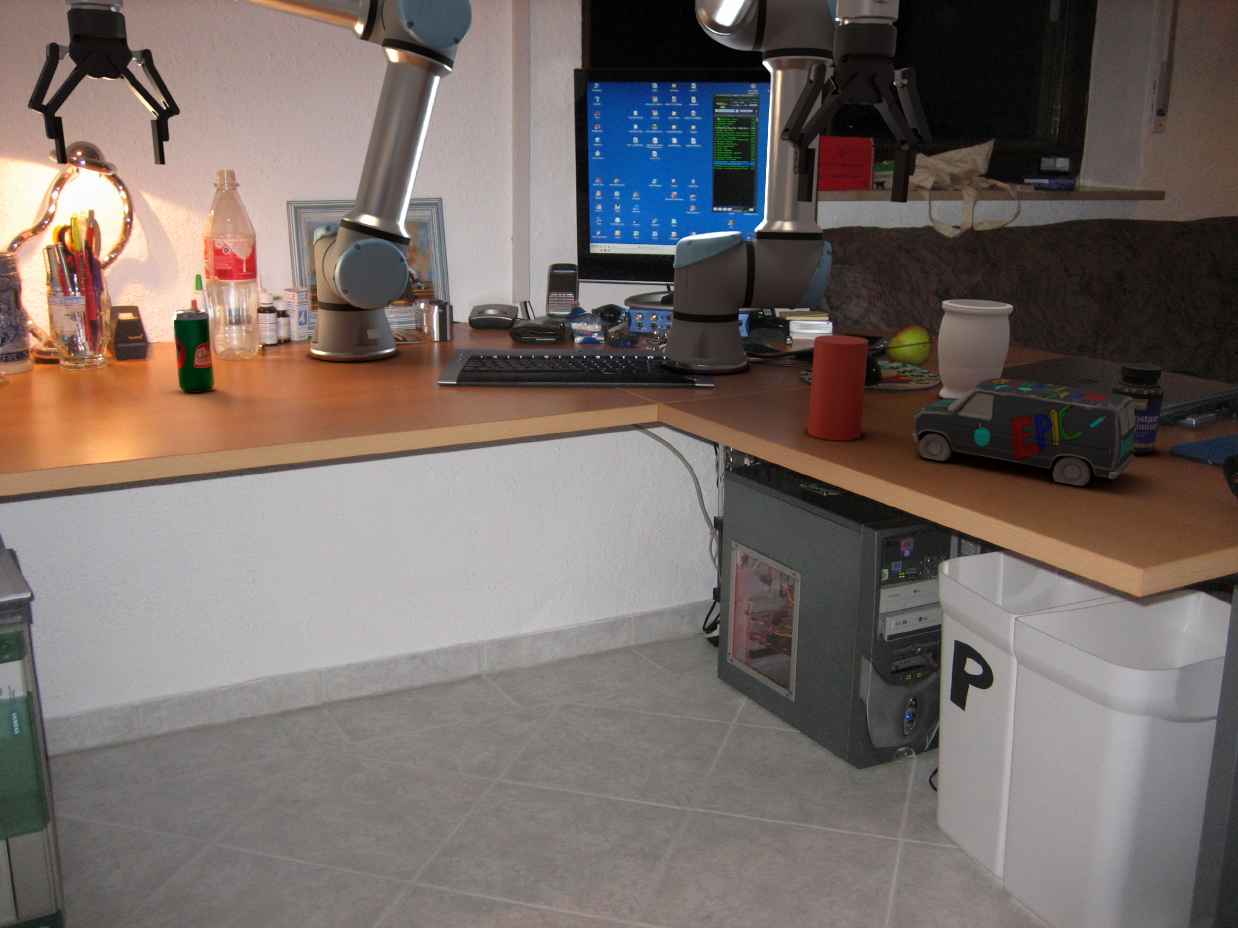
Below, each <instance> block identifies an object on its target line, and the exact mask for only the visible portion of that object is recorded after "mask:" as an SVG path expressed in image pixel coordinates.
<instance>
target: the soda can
mask: <svg viewBox="0 0 1238 928" xmlns="http://www.w3.org/2000/svg"><path fill="white" fill-rule="evenodd" d="M172 328H173V337H174V348H175V356H176V357H175V358H176V367H177V368H176V369H177V376H178V377H177V379H178V387H179V388H180V389H181V391H183V392H187V393H202V392H208V391H211V390H212V389H213V388H214V386H215V376H214V375H215V374H214V365H213V353H212V341H211V331H210V318H209V316H208V315H207V313H206V310H204V309H199V308H198V309H196V308H189V309H179V310H175V311H174V316H173V317H172Z"/></svg>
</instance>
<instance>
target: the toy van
mask: <svg viewBox="0 0 1238 928" xmlns="http://www.w3.org/2000/svg"><path fill="white" fill-rule="evenodd" d="M1135 431H1136V423H1135V415H1134V405H1133V398H1131V397H1130V396H1125V395H1118V394H1112V392H1104V391H1098V390H1093V389H1085V388H1079V387H1073V386H1072V387H1071V386H1065V385H1059V384H1052V383H1043V382H1037V381H1028V380H1020V379H1008V378H1002V377H1000V378H994V379H988V380H984V381H982V382H980V383H979V384H977V385H976V386H975V387H974V388H972V389H971V390H970V391H968V392H967V393H966V394H965V395H963V396H962V397H960V398H941V399H938V400H936V401H933V402H930V403H928V404H926V405H924V406H922V407H921V408H919V409H918V410H916V411H914V417H913V432H912V434H911V436H912V439H913V442H914V443H919V444H918V449H919V450H918V452H919V454H920V455H921V457H922V458H925V459H929V460H935V461H941V462H947V460H948V459H949V458H950V457H951V456H952V452H956V453H963V454H969V455H974V456H980V457H986V458H991V459H997V460H1002V461H1006V462H1007V461H1008V462H1012V463H1018V464H1022V465H1023V464H1024V465H1029V466H1034V467H1039V468H1042V469H1043V468H1044V469H1052V468H1053V469H1052V478H1053V480H1054V482H1057V483H1061V484H1068V485H1073V486H1080V487H1082V486H1085V485H1086V484H1087V483H1088V482H1089V481H1090V479H1091V476H1092V474H1093V475H1094V476H1095V477H1101V478H1102V477H1103V478H1108V479H1110V480H1115V479H1116V478H1118V477H1119V476H1120V475H1121V474H1122V473H1123V472H1124V471H1125V470H1126V469H1127V467H1128V466H1129V465H1130V464H1131V463H1132V461H1133V460H1134V458H1135V455H1134V453H1131V451H1132V450H1133V441H1134V436H1135Z"/></svg>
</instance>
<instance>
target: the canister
mask: <svg viewBox="0 0 1238 928" xmlns="http://www.w3.org/2000/svg"><path fill="white" fill-rule="evenodd" d="M868 345H869V340H868V339H866V338H864V337H860V336H852V335H840V334H839V335H838V334H827V335H817V336H816V337H814V343H813V350H814V354H813V356H812V369H811V371H812V372H811V383H810V384H811V385H810V399H809V400H810V401H809V413H808V427H807V433H808V434H809V435H810V436H812V437H814V438H818V439H821V440H828V441H852V440H856V439H859V438H861V433H862V421H863V410H864V397H865V388H866V387H865V386H866V375H867V364H868V363H867V361H868V351H869V350H868Z"/></svg>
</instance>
